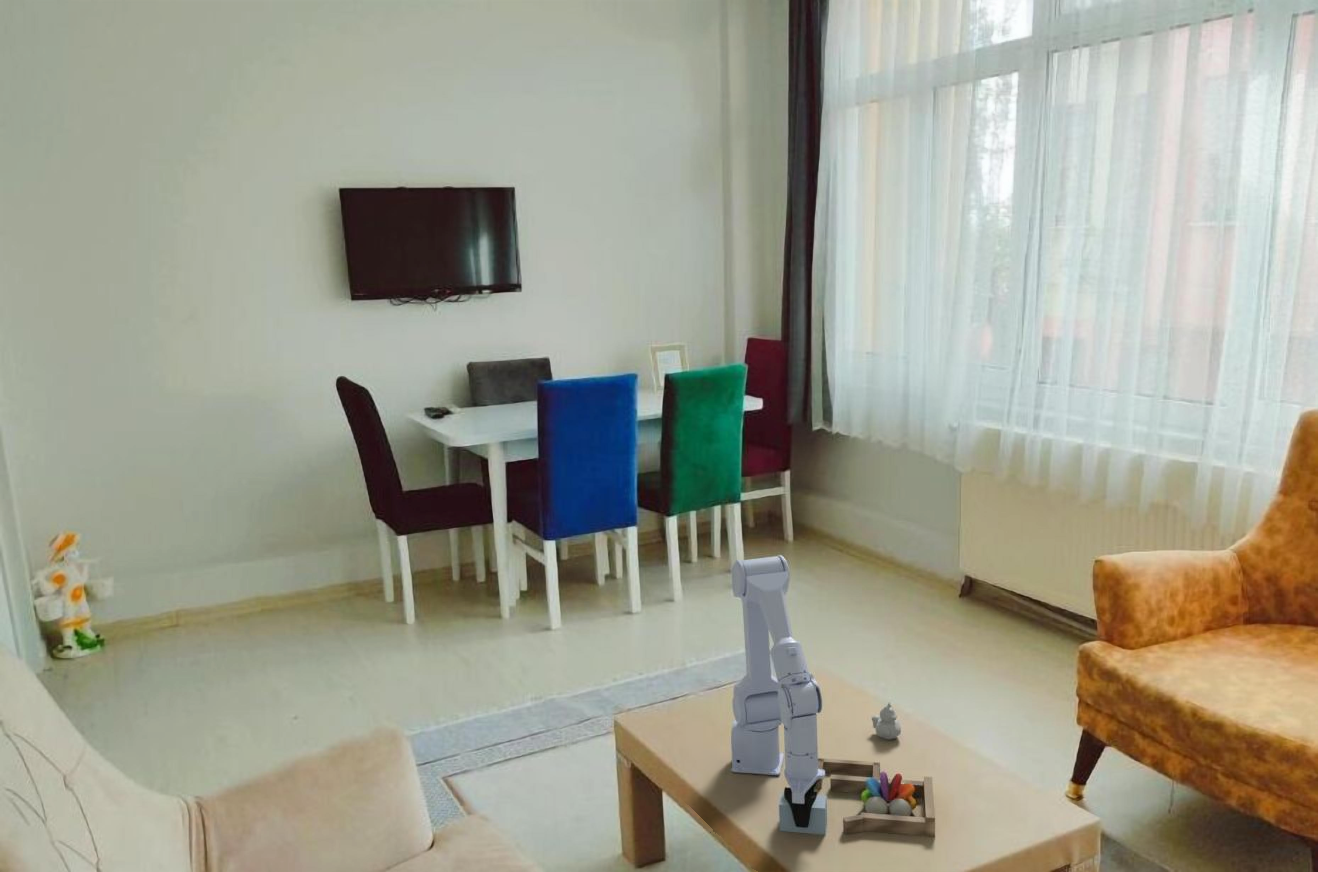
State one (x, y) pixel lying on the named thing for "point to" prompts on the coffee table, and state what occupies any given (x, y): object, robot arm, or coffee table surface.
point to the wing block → (816, 817)
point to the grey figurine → (886, 723)
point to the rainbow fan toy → (888, 796)
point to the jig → (879, 820)
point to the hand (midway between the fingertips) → (803, 818)
